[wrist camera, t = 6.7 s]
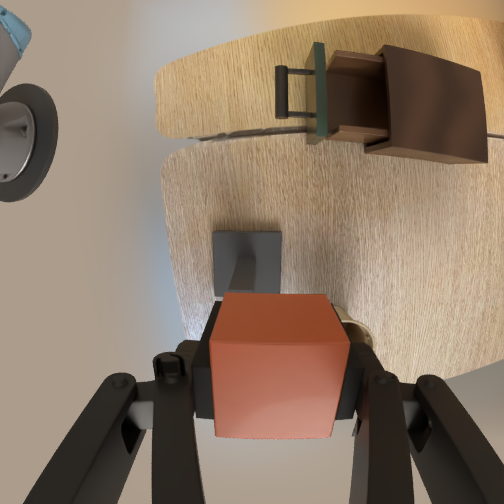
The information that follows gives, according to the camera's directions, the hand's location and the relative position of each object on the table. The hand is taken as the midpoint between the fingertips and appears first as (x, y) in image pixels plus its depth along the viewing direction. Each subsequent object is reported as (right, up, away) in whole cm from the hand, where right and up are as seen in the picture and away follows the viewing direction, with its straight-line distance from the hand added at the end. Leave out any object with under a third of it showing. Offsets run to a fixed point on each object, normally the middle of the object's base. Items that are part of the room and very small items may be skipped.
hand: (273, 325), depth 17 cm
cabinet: (+21, +24, +20) cm, 38 cm away
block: (0, 0, -1) cm, 1 cm away
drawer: (+11, +23, +20) cm, 32 cm away
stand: (-2, +3, +26) cm, 26 cm away
